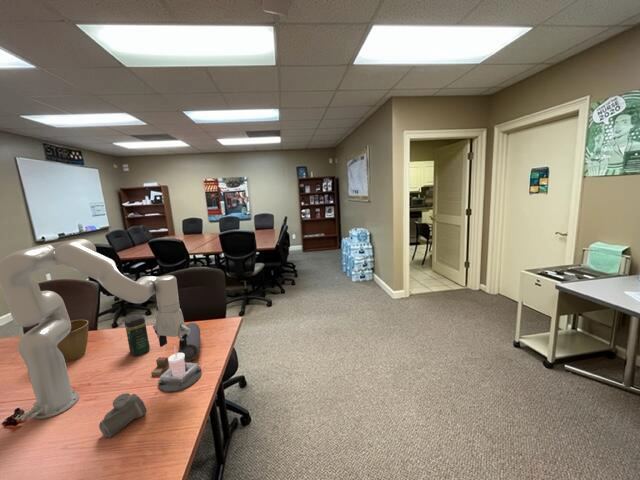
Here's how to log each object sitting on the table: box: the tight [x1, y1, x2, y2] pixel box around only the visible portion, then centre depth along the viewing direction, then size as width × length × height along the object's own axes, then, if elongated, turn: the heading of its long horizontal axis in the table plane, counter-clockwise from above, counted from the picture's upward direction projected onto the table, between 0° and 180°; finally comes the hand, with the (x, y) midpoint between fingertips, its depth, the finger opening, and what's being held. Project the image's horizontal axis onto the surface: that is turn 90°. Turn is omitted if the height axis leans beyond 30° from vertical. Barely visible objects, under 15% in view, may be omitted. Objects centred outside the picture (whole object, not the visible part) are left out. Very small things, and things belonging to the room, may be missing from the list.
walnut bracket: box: [150, 356, 170, 377], centre depth 121 cm, size 6×4×5 cm, turn 176°
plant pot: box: [57, 319, 89, 362], centre depth 135 cm, size 15×15×16 cm
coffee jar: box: [123, 313, 151, 357], centre depth 137 cm, size 10×8×19 cm
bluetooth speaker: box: [177, 322, 202, 362], centre depth 136 cm, size 23×9×10 cm, turn 22°
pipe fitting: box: [98, 392, 148, 438], centre depth 93 cm, size 12×8×10 cm
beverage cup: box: [168, 345, 186, 377], centre depth 114 cm, size 6×6×14 cm
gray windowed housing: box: [157, 361, 202, 393], centre depth 115 cm, size 16×16×4 cm
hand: (173, 346), depth 113 cm, fingers open, 9 cm apart
